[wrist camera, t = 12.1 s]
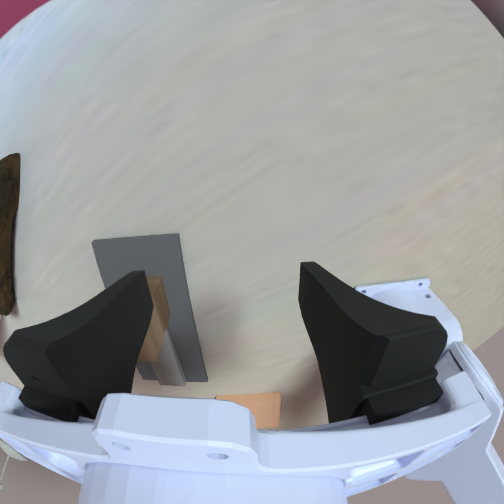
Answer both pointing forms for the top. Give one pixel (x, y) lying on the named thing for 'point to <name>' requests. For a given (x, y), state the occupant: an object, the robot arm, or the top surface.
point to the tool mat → (175, 284)
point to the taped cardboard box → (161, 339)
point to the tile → (260, 407)
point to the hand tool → (7, 225)
